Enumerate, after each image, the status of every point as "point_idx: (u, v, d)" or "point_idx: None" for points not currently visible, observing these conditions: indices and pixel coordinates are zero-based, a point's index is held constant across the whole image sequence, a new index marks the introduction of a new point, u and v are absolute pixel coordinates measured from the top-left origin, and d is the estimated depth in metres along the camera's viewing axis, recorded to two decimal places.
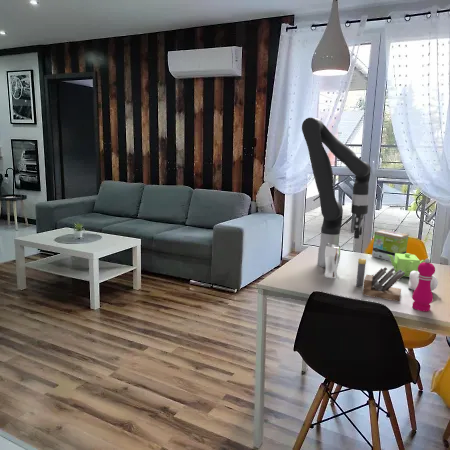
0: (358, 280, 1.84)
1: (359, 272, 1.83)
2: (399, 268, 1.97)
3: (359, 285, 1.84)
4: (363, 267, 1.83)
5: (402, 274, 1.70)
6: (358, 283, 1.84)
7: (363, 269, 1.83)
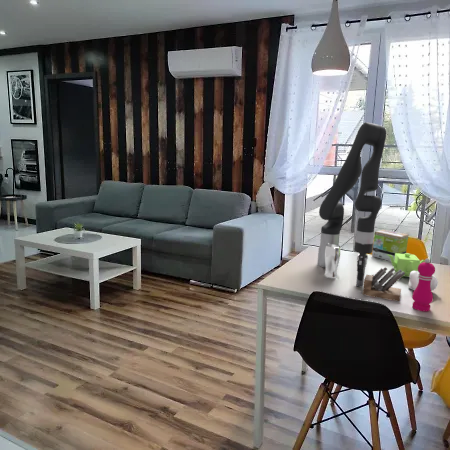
0: (358, 280, 1.84)
1: None
2: (399, 268, 1.97)
3: (359, 285, 1.84)
4: None
5: (402, 274, 1.70)
6: (358, 283, 1.84)
7: None
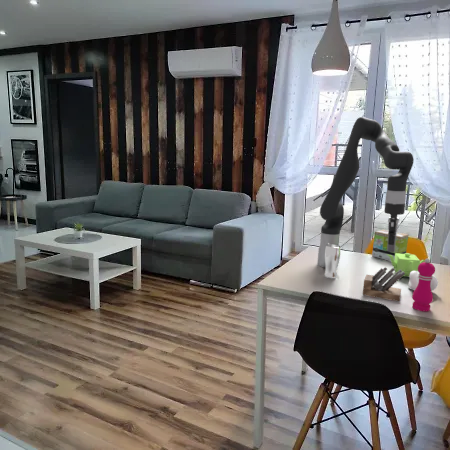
0: (389, 245, 1.70)
1: None
2: (399, 268, 1.97)
3: (390, 250, 1.70)
4: None
5: (402, 274, 1.70)
6: (389, 248, 1.70)
7: (395, 232, 1.69)
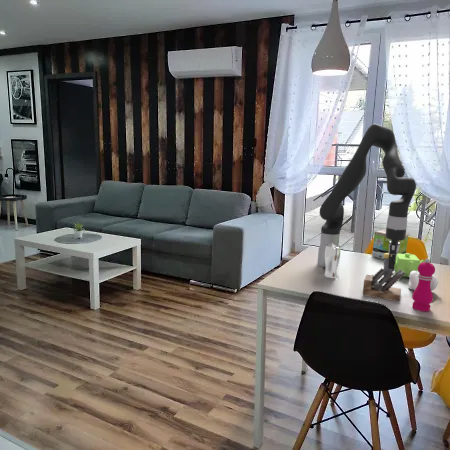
0: (385, 276, 1.72)
1: (386, 267, 1.72)
2: (399, 268, 1.97)
3: (387, 281, 1.72)
4: None
5: (402, 274, 1.70)
6: None
7: None
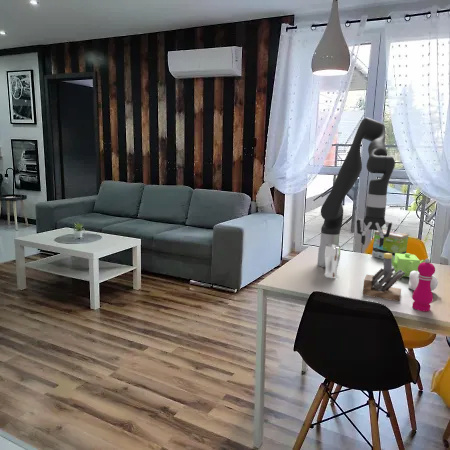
0: (385, 276, 1.72)
1: (386, 267, 1.72)
2: (399, 268, 1.97)
3: (387, 281, 1.72)
4: (390, 262, 1.71)
5: (402, 274, 1.70)
6: None
7: (390, 264, 1.71)
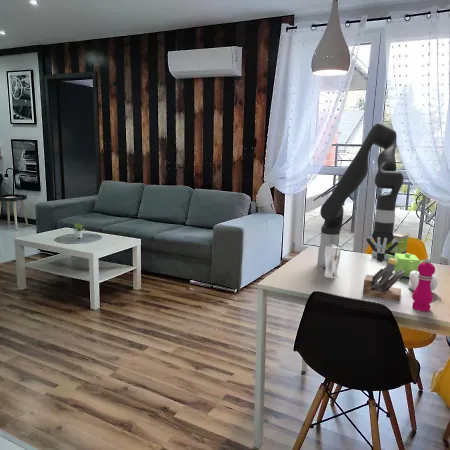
0: None
1: (386, 272, 1.72)
2: (399, 268, 1.97)
3: (382, 285, 1.73)
4: (392, 268, 1.71)
5: (402, 274, 1.70)
6: None
7: (391, 270, 1.71)
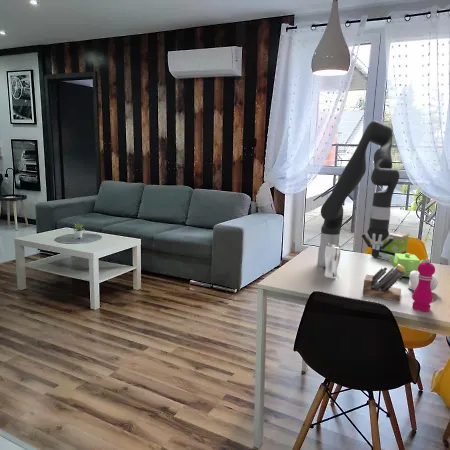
0: None
1: None
2: None
3: (381, 286, 1.74)
4: None
5: (402, 274, 1.70)
6: None
7: None
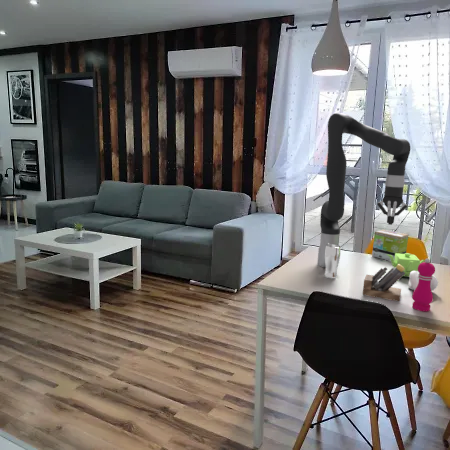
0: None
1: None
2: None
3: (381, 286, 1.74)
4: None
5: (402, 274, 1.70)
6: None
7: None
